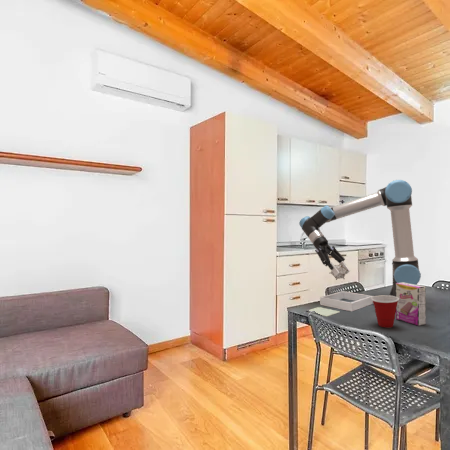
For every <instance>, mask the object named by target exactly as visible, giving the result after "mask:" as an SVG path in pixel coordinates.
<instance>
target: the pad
mask: <svg viewBox="0 0 450 450" xmlns="http://www.w3.org/2000/svg"><path fill="white" fill-rule="evenodd" d="M308 310H309V311H315V312H316V313H318V314H320V315H319V316H321V315H322V317H331V316H333V315H336V314H339V313H341V312H340V311H339V310H334V309H330V308H325V307H321V306H317V307H314V308H311V309H308Z"/></svg>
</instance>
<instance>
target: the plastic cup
mask: <svg viewBox="0 0 450 450" xmlns="http://www.w3.org/2000/svg"><path fill="white" fill-rule="evenodd" d="M371 300H372V301H373V307H374V311H375V315H376V316H375V317H376V320H377V324H378V327H381V328H389V329H390V328H393V327H394V325H395V324H394V323H395V320H396V307H397V303H398V301H399V298H398V297H395V296H389V294H388V295H387V294H386V295H375V296H374V295H373V297H372V298H371Z"/></svg>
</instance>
